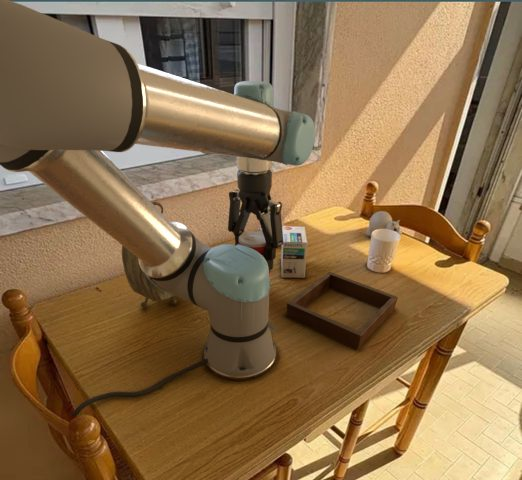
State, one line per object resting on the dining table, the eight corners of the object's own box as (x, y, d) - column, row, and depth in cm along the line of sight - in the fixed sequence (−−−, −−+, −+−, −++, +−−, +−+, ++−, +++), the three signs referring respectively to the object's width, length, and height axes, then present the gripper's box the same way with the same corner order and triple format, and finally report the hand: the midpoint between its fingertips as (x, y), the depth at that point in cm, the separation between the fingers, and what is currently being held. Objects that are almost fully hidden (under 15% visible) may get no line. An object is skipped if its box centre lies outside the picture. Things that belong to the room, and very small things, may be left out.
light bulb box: (305, 278, 106) (308, 242, 99) (281, 278, 106) (282, 242, 99) (302, 260, 114) (305, 225, 107) (280, 259, 115) (281, 225, 107)
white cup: (398, 269, 111) (407, 236, 104) (379, 276, 108) (387, 243, 101) (377, 258, 116) (385, 226, 109) (359, 265, 112) (365, 233, 106)
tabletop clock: (175, 283, 104) (160, 189, 87) (200, 294, 100) (189, 198, 83) (134, 308, 95) (108, 209, 78) (159, 321, 91) (138, 219, 74)
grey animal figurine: (390, 249, 120) (396, 223, 115) (361, 235, 128) (366, 210, 122) (404, 243, 124) (411, 217, 118) (376, 230, 131) (381, 205, 125)
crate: (357, 349, 84) (360, 335, 81) (286, 316, 93) (286, 303, 90) (394, 310, 95) (397, 296, 93) (327, 284, 104) (329, 271, 102)
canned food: (238, 270, 101) (237, 231, 94) (268, 269, 102) (269, 230, 95) (240, 286, 96) (239, 245, 88) (272, 284, 96) (273, 244, 89)
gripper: (304, 175, 79) (297, 272, 94) (230, 157, 88) (234, 247, 103) (283, 184, 74) (279, 284, 89) (207, 164, 84) (215, 257, 99)
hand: (254, 264), depth 96 cm, fingers closed on canned food, 8 cm apart
